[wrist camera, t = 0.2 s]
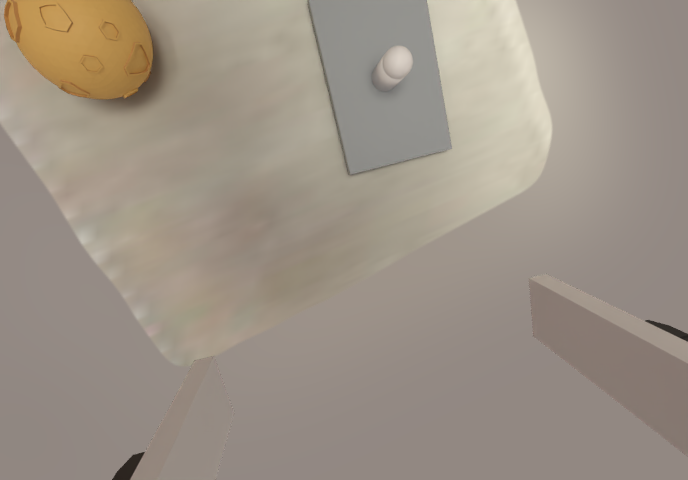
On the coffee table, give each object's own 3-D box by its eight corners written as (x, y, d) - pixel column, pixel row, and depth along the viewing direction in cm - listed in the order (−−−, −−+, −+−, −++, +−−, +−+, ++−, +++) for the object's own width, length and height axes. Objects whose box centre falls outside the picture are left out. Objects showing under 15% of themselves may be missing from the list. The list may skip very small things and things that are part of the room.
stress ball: (44, 21, 33) (-65, -42, 23) (141, -13, 34) (75, -89, 24) (96, 123, 35) (17, 104, 26) (186, 90, 36) (143, 59, 26)
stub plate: (307, 3, 36) (309, -43, 28) (417, -21, 36) (447, -72, 29) (348, 174, 39) (359, 175, 32) (446, 149, 40) (480, 144, 33)
